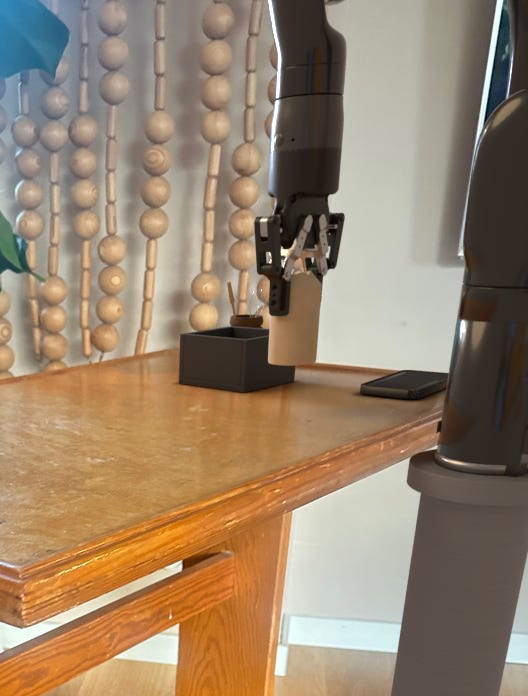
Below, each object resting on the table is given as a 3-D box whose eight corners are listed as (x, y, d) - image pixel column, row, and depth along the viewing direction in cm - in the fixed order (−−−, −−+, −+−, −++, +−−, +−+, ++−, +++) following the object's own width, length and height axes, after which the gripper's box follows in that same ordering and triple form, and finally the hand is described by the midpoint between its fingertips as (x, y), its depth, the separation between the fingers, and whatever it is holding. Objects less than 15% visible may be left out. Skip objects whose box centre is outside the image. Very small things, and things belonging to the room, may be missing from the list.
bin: (294, 381, 130) (298, 331, 128) (244, 392, 124) (247, 340, 121) (229, 373, 138) (231, 325, 136) (178, 383, 132) (179, 333, 129)
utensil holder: (257, 365, 144) (262, 283, 139) (218, 363, 147) (222, 283, 142) (267, 360, 149) (272, 280, 144) (229, 358, 152) (233, 280, 147)
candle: (307, 358, 110) (313, 268, 106) (322, 364, 105) (329, 270, 101) (262, 360, 110) (266, 271, 106) (275, 367, 105) (280, 273, 101)
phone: (357, 385, 120) (404, 369, 129) (356, 393, 120) (403, 377, 130) (417, 390, 115) (461, 373, 125) (416, 400, 115) (460, 382, 125)
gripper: (295, 142, 92) (284, 321, 99) (373, 145, 100) (358, 309, 107) (235, 149, 97) (229, 318, 104) (314, 151, 105) (303, 307, 112)
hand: (294, 312), depth 105 cm, fingers closed on candle, 5 cm apart
